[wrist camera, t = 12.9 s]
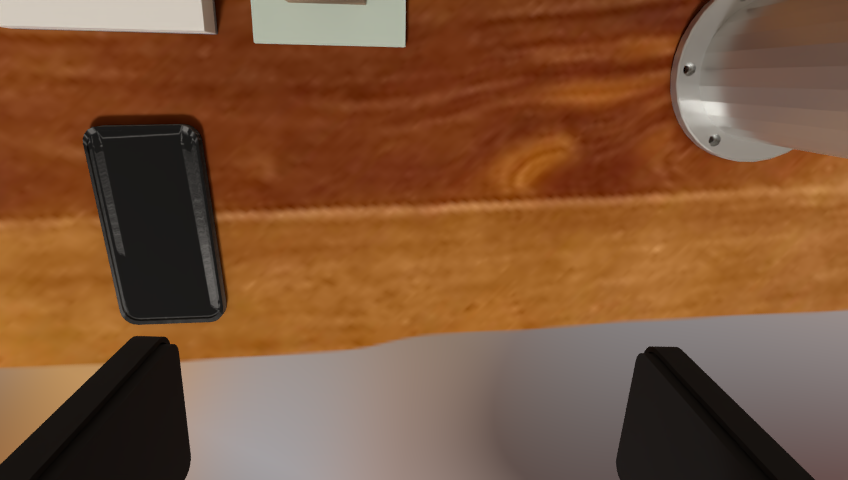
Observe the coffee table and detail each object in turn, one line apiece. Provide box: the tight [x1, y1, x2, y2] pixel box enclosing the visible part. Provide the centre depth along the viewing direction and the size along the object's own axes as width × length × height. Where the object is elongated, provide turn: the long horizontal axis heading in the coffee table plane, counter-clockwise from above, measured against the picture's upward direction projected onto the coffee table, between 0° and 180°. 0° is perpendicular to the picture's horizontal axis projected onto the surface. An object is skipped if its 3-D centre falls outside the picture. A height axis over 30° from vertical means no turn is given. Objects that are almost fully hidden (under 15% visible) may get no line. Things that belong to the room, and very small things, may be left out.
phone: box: [83, 124, 226, 325], centre depth 37 cm, size 8×1×15 cm
